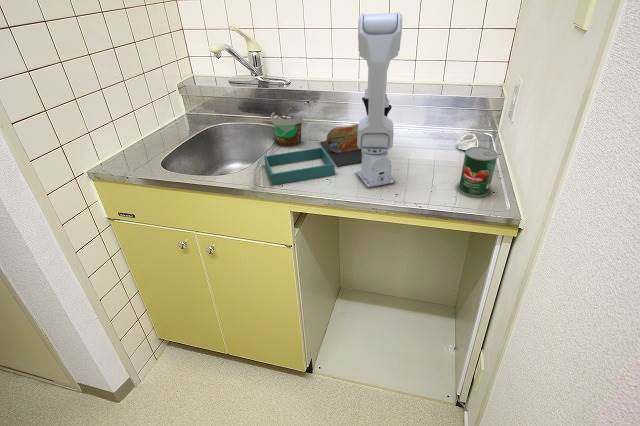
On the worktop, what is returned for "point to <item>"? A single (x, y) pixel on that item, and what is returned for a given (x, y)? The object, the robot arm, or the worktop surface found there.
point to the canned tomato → (477, 171)
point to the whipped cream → (468, 142)
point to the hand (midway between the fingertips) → (375, 122)
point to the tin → (343, 138)
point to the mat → (344, 156)
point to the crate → (299, 173)
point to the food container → (287, 129)
